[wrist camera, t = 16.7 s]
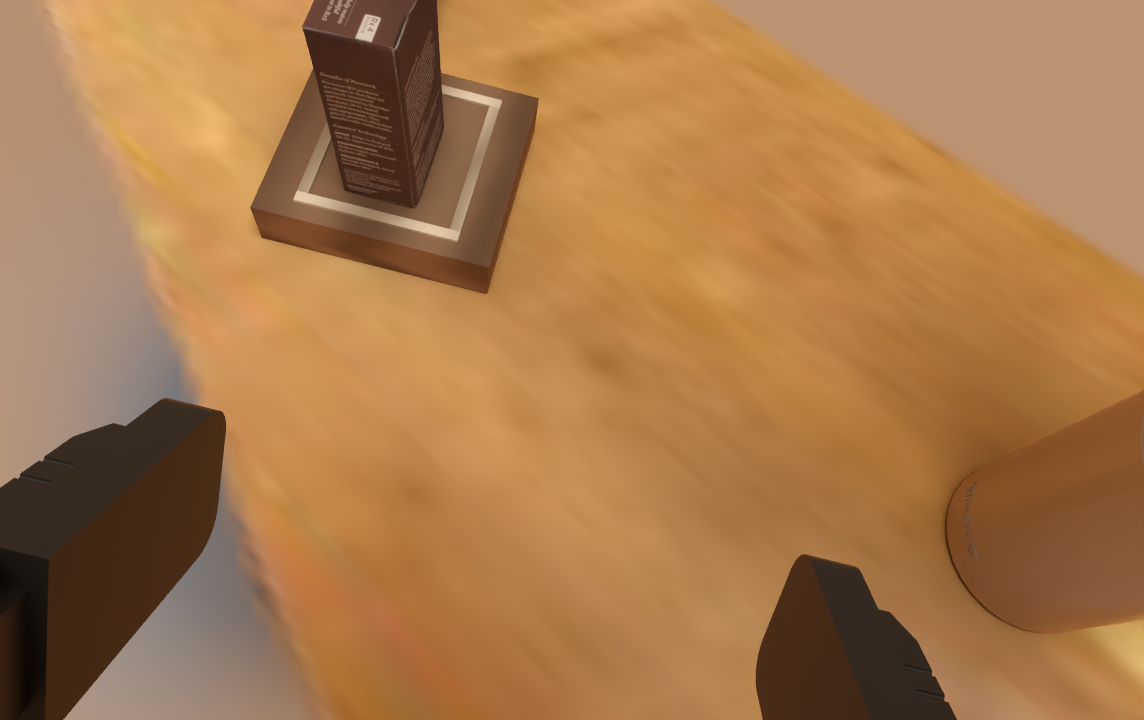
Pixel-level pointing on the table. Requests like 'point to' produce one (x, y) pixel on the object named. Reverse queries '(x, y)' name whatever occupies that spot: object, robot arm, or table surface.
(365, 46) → the box
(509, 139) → the base board
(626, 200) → the table surface
